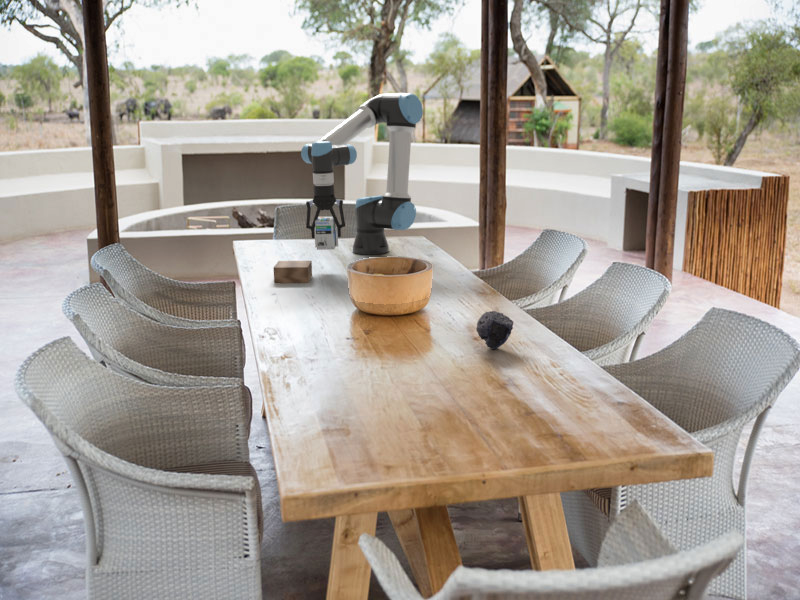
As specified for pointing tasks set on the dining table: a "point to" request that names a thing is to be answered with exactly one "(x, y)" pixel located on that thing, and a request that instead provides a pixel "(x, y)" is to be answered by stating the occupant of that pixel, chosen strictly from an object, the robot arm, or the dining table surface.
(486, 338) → the pumice stone
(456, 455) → the dining table surface
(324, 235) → the light bulb box
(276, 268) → the walnut block
